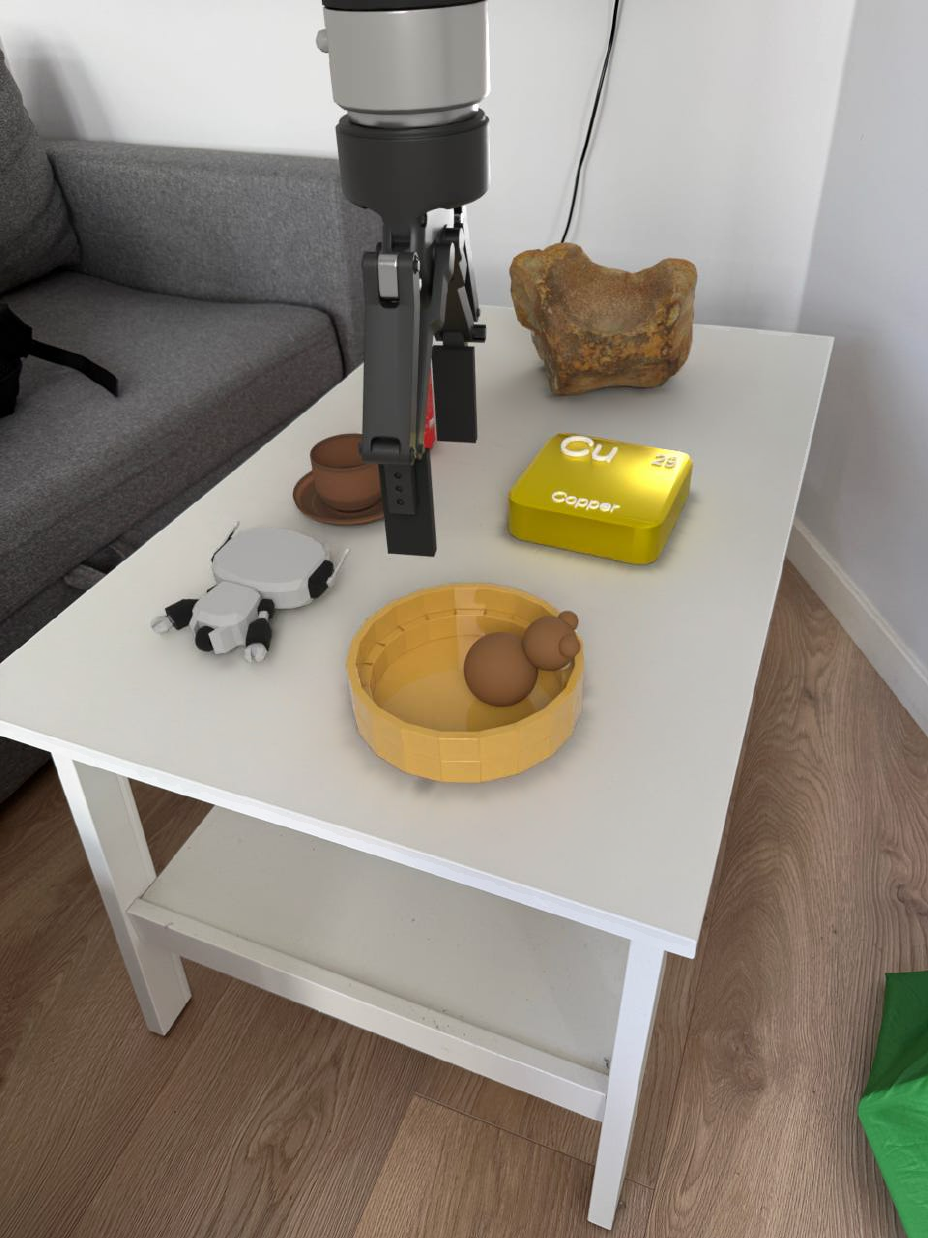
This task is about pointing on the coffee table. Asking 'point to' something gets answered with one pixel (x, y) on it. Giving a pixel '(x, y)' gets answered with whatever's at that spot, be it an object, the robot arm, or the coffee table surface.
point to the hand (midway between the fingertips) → (436, 491)
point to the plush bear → (520, 659)
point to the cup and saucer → (340, 484)
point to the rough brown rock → (604, 318)
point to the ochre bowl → (455, 686)
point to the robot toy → (253, 589)
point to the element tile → (600, 497)
